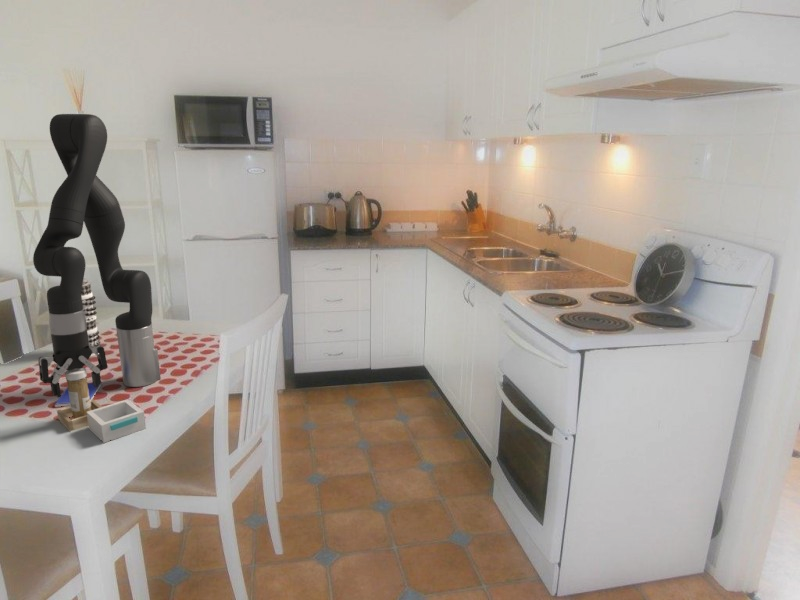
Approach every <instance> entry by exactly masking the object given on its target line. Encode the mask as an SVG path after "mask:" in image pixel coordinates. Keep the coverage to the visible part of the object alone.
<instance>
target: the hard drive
mask: <svg viewBox="0 0 800 600" xmlns="http://www.w3.org/2000/svg"><path fill="white" fill-rule="evenodd" d="M87 384H88V389H89V395H90V401H91V400H94V397H95V396H96V394H97V393H96V392H98V391H99V389H100V388H101V386H102V385H101V384H99V387H96V388H95V387H94V386H93V382H90V383H88V382H87ZM94 395H95V396H94ZM61 406H65V407H71V404H70V398H69V392H68V387H66V389H65V391H64V392H63V393H61V397H59V399H57V401H56V402H55V403H54V407H55V408H62V407H61Z"/></svg>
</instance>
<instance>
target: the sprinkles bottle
mask: <svg viewBox="0 0 800 600" xmlns="http://www.w3.org/2000/svg"><path fill="white" fill-rule="evenodd" d="M64 376H65V380H66V383H67V388H68V392H69V398H70V404H71V406H70V407H71V410H72V414H73V417H72V419H75V418H79V417H82V416H85V415H87V412H88V411H91V410H92V409H91V401H90V395H89V389H88V384H87V383H88V379H87V378H88V372H87V368H85V367H83V368H79V369H74V370H71V371H68V370H66V371H65V373H64Z"/></svg>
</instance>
